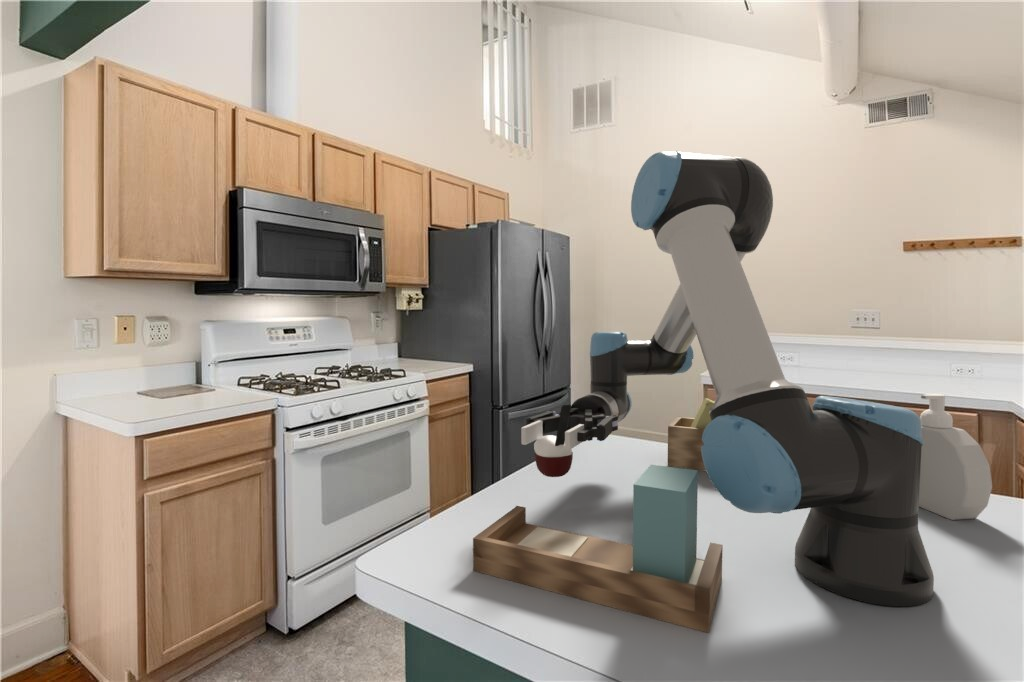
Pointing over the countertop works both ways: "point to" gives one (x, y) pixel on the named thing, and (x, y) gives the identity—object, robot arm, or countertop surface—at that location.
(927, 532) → the countertop surface
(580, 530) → the countertop surface
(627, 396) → the robot arm
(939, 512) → the soap bottle
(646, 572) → the teal carton
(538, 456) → the cocoa
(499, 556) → the tray
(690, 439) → the part holder
